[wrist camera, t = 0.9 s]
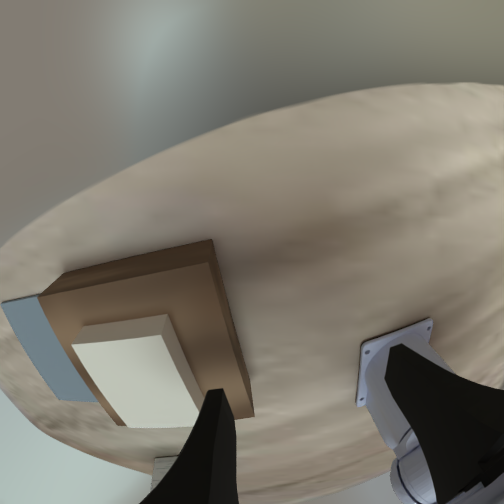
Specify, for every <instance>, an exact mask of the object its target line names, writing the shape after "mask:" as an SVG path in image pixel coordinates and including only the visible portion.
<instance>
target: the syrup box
mask: <svg viewBox="0 0 504 504" xmlns="http://www.w3.org/2000/svg"><path fill="white" fill-rule="evenodd" d="M177 457H178V456H174V457H163V458H155V462H154V469H153V476H152V483H151V491H152V490H153V489H154V488H155V487H156V486H157V485H158V483H159V482H160V481H161V480H162V478H163V477H164V476H165V474H166V473H167V472H168V470H169V469H170V468H171V466H172V465H173V463H174V462H175V460H176V459H177ZM151 491H150V492H151Z"/></svg>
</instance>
